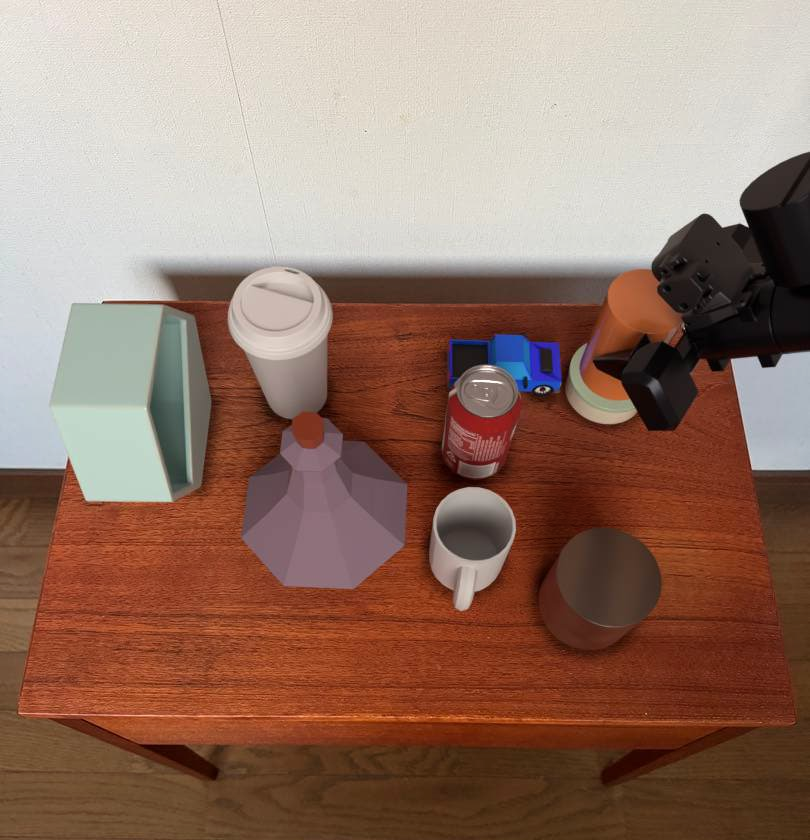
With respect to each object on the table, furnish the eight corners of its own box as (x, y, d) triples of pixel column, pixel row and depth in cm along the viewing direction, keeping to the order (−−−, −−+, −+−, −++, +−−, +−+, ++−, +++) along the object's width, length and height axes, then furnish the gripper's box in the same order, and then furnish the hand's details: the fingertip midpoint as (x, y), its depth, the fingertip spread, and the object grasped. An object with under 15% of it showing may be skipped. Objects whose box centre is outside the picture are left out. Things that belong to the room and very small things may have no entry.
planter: (214, 480, 79) (153, 513, 59) (143, 479, 79) (56, 512, 59) (208, 319, 76) (142, 296, 56) (134, 318, 76) (40, 294, 56)
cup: (504, 530, 73) (519, 492, 65) (495, 627, 69) (509, 600, 61) (433, 520, 73) (438, 481, 65) (419, 616, 69) (423, 588, 61)
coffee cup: (359, 390, 79) (353, 297, 65) (298, 449, 76) (278, 364, 62) (295, 342, 81) (276, 242, 67) (233, 397, 78) (200, 305, 64)
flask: (379, 435, 77) (376, 311, 58) (435, 575, 71) (451, 486, 52) (227, 482, 74) (173, 368, 56) (272, 631, 68) (228, 558, 50)
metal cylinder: (637, 573, 71) (668, 541, 63) (624, 661, 68) (654, 639, 60) (547, 550, 72) (566, 516, 64) (529, 636, 69) (547, 611, 61)
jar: (650, 366, 81) (660, 348, 78) (639, 434, 77) (649, 419, 74) (570, 347, 81) (577, 329, 78) (556, 414, 78) (562, 398, 75)
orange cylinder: (663, 374, 69) (704, 304, 60) (616, 413, 67) (651, 347, 58) (612, 330, 71) (644, 256, 62) (564, 367, 69) (591, 296, 60)
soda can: (498, 489, 74) (516, 431, 63) (434, 474, 75) (441, 412, 64) (511, 434, 77) (532, 368, 66) (449, 419, 78) (459, 351, 66)
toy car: (557, 404, 79) (567, 377, 74) (446, 400, 78) (449, 374, 74) (554, 352, 81) (563, 324, 77) (446, 349, 81) (449, 320, 76)
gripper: (805, 138, 52) (623, 195, 64) (692, 311, 46) (515, 338, 58) (847, 266, 58) (672, 296, 70) (751, 435, 52) (578, 435, 64)
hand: (613, 337), depth 66 cm, fingers closed on orange cylinder, 6 cm apart
